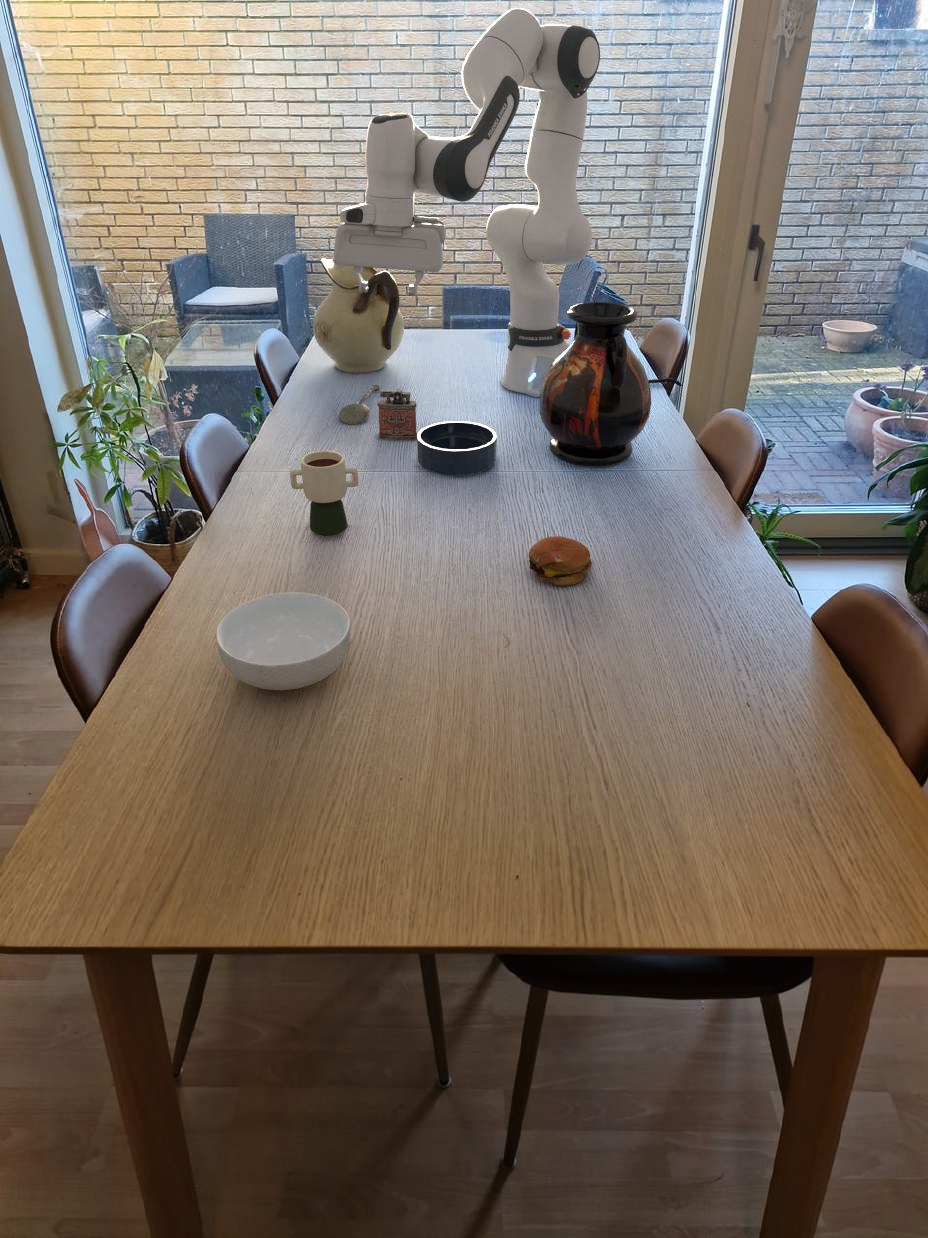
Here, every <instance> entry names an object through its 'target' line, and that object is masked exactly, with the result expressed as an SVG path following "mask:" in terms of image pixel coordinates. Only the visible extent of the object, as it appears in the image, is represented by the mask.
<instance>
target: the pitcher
mask: <svg viewBox="0 0 928 1238" xmlns="http://www.w3.org/2000/svg"><path fill="white" fill-rule="evenodd" d="M320 263H321V265H322V268H323V270H324V271H325V273H326V275H327V276H328V277H329V279H330V281H331V282H332V288H331V290H330V292H329V294H327V296H326V297H325V299H323V301H322V302H321V303H320V305H319V306H318V307H317V310H316V312H315V314H314V317H313V321H312V331H313V336H314V338H315V341H316V343H317V344H318V346H319V348H320V349H321V351H323V352H324V353H325V354H326V355H327V356H328V357H329V358H330V359H331V360H332V361H333V362H334V364H335V367H336V368H337V369H338V370H339V371H342V372H346V373H358V374H359V373H371V372H376V371H379V370H381V369H383V368H385V366H386V363H387V360H389V359H390V358H391V357H392V356H393V355H394V354H395V352H396V351H397V350H398V349H399V347H400V345H401V343H402V341H403V337H404V333H405V322H404V317H403V315H402V311H400V309H399V308H400V291H399V288H398V285H397V282H396V280H395V279H394V277H393V276H392V274H391V273H390V272H389V271H388V270H383V271H380V272H378V271H377V270H376V268H372V267H362V271H361V272H360V274H361V276H362V278H363V280H364V281H366V282H368V286H367V287H368V292H359V282H358V281H357V279H356V277H355V275H354V273H353V266H345V265H338V264H337V263H336V261H335V260H334V258H331V259H327V258H321V261H320Z"/></svg>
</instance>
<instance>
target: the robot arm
mask: <svg viewBox="0 0 928 1238" xmlns="http://www.w3.org/2000/svg"><path fill="white" fill-rule="evenodd" d="M600 47H601V46H600V44H599V41H598V38H597V36H596V34H595V32H594V31H593V29H591V28H588V27H586V26H582V25H579V24H573V25H566V24H557V23H555V24H554V23H551V24H550V23H547V24H544V25H541V23H540V21H539V19H538V18H537V17H536V16H535V15H534V14H533V13H532V12H530V11H529V10H528V9H525V8H522V7H521V8H520V7H515V8H511V9H509V10H507V11H505V13H503V14H502V15H501V16H500V17H499V18H498V19H496V20H494V22H493V23H492V24H491V25H490V26H489V27H488V28H487V29H486V30H485V31H484V33H483V34H482V35H481V36H480V38H479V39H478V40H477V41H476V43H475V44H474V45H473V47H472V48H471V49H470V51H469V52H468V54H467V56H466V57H465V60H464V62H463V64H462V68H461V81H462V86H463V89H464V92H465V94H466V96H467V97H468V99H469V101H470V102H471V104H473V106H474V107H475V108H476V109H478V111H479V112H478V115H477V116H476V117H475V119H474V122H473V124H472V126H471V127H470V129H469V131H468V132H466V133H465V134H463V135H460V136H456V137H444V136H443V137H441V136H433V135H429V134H428V133H427V132H425V131H423V130H422V129H421V128H420V127H419V126H418V125H417V124H416V123H415V121H414V118H413V115H412V114H410V113H409V112H404V111H393V112H392V111H391V112H389V111H388V112H383V113H378V114H376V115H374V116H373V117H372V118H371V119H370V121H369V124H368V128H367V133H366V142H365V172H366V175H367V185H366V188H365V198H364V199H365V201H364V203H361V202H360V203H357V204H354V205H353V206H349V207H346V208H344V209H342V210H341V211H340V213H339V219H340V222H341V224H340V225H339V226H338V227H337V229H336V231H335V237H334V243H333V244H334V248H333V259H334V260H335V261H336V263H337V264H338V265H345V266H353V273H354V275H355V277H356V279H357V281H358V282H359V292H368V287H367V286H368V282H366V281H364V280H363V278H362V276H361V274H360V272H361V271H362V267H372V268H374V269H388V270H401V271H412V272H413V271H414V276H415V278H417V279H416V281H415V282H414V284H409V285H408V296H409V297H417V296H418V286H419V284H420V283H421V282H422V279H423V278H424V273H426V272H427V273H438V272H439V271H441V269H443V265H444V253H443V244H444V243H445V241H446V232H447V229H446V225H445V223H444V222H443V221H442V220H440V219H439V218H438V217H435V216H434V217H433V216H432V217H428V216H423V215H422V216H419V215H415V194H423V195H427V196H433V197H441V198H445V199H448V200H453V201H457V202H461V203H465V202H468V201H470V200H472V199H474V197H476V195H477V194H479V192H481V190H482V187H483V186H484V183H485V181H486V179H487V175H488V172H489V169H490V165H491V163H492V161H493V159H494V157H495V155H496V153H497V151H498V150H499V147H500V146H501V144H502V141H503V140H504V138H505V136H506V135H507V132H508V130H509V128H510V127H511V125H512V123H513V120H514V118H515V116H516V114H517V111H518V108H519V106H520V101H521V92H520V89H521V90H522V89H529V90H534V91H538V94H539V101H538V103H537V104H538V105H537V108H536V111H535V115H534V119H533V123H532V128H531V133H530V139H529V144H528V149H527V155H526V160H525V164H524V170H525V174H526V176H527V179H528V180H529V182H530V183H531V184H533V186H535V187H536V190H537V195H538V204H537V206H535V205H528V204H519V203H515V204H514V203H513V204H506V205H500V206H497V207H496V208H495V209H494V210H493V211H492V212H491V214H490V216H489V217H488V220H487V223H486V227H485V228H486V229H485V233H486V239H487V243H488V245H489V247H490V248H491V249H492V250H493V252H494V253H495V254H496V255H497V257H498V259H499V260H500V262H501V264H502V266H503V269H504V271H505V274H506V276H507V281H508V286H509V296H510V297H509V301H510V303H509V304H510V307H509V309H510V310H509V312H510V316H509V318H510V319H509V323H508V325H507V334H506V337H507V338H506V341H507V342H506V345H507V358H506V363H505V369H504V373H503V377H502V379H501V386H502V387H503V388H505V389H507V390H510V391H511V392H516V393H520V394H521V393H522V394H526V395H529V396H531V397H533V398H540V392H541V388H542V383H543V381H544V378H545V376H546V373H547V372H548V370H549V368H550V366H551V365H552V363H553V362H554V361H555V359H556V358H557V357H558V356H559V355H560V354H561V353H562V352H563V351H564V350H565V349H566V348H567V347H568V346H569V345H570V344H571V343H569V342H568V341H567V340H570V338H571V337H572V332H571V331H570V330H569V329H568V328H566V326H564V325H562V323H559V313H560V312H559V311H560V290H559V287H558V285H557V284H556V282H555V281H554V280H552V279H551V277H550V276H549V275H548V273H547V271H546V269H545V266H544V264H549V265H554V266H564V265H565V266H566V265H576V264H578V263H581V262H582V261H583V260H584V259H585V258H586V256H587V255H588V253H589V251H590V250H591V246H592V242H593V231H592V227H591V224H590V222H589V220H588V219H587V217H586V216H585V214H584V213H583V211H582V209H581V206H580V204H579V199H578V194H577V175H578V169H579V163H580V158H581V152H582V146H583V142H584V136H585V130H586V124H587V115H588V90H589V87H590V86H591V84H592V82H593V81H594V78H595V77H596V75H597V73H598V70H599V66H600V61H601V48H600ZM648 381H649V384H659V383H660V384H661V383H674V384H675V385H676V386H678V387H682V386H683V384H682V383H681V382H680V381H679V380H678V379H675V378H672V377H665V378H657V379H654V378H653V379H648Z"/></svg>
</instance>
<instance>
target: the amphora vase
mask: <svg viewBox="0 0 928 1238" xmlns="http://www.w3.org/2000/svg"><path fill="white" fill-rule="evenodd" d="M566 313H567V314H566V315H567V317H568V318H569V319H570V320H571V321H572V322H575V327H574V334H573V340H572V341H571V343H569V344H570V345H569V346H568V347H567V348H566V349H565V350H564V351H563V352H562V353H561V354H560V355H559V356H558V357H557V358H556V359H555V361H554V362H553V363H552V365H551V366H550V368H549V370H548V372H547V373H546V376H545V378H544V381H543V383H542V388H541V392H540V397H539V416H540V420H541V422H542V425H543V426H544V427H545V429H546V431H547V432H548V434H549V435H550V436H551V437H552V438H551V440H550V441H549V451H550V452H551V453H552V455H553V456H554V457H556V458H557V459H558V460H560V461H563V462H565V463H567V464H569V465H574V466H578V467H586V468H602V467H603V468H607V467H610V466H616V465H618V464H620V463H624V462H625V461H626V460H628V459H629V458H630V457H631V455H632V453H633V450H634V448H633V444H632V441H634V440H635V439H636V438H637V437H638V436H639V435H640V434H641V433H642V431H643V430H644V428H645V426H646V424H647V423H648V420H649V418H650V415H651V408H652V391H651V387H650V383H649V381H648V380H649V377H648V375H647V372H646V369H645V367H644V365H643V363H642V361H640V359H639V358H638V357H637V355H636V353H634V351H633V350H632V349H631V347H630V346H629V344H628V342H627V339H626V337H625V332H626V327H627V326H628V325H629V324H632V323H634V322H636V320H637V319H638V317H639V314H638V311H637V310H636V309H635V308H633V307H632V306H629V305H626V304H622V303H617V302H608V301H589V302H581V303H576V304H574V305H572V306H570V308H568V309H567V312H566Z"/></svg>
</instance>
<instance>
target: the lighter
mask: <svg viewBox="0 0 928 1238" xmlns="http://www.w3.org/2000/svg"><path fill="white" fill-rule="evenodd" d="M379 397H380V398H385V399H380V400H378V401H377V402H376V405H377V408H378V409H377V410H378V412H377V413H378V427H379V428H378V429H379V431H378V438H379V439H380V440H387V441H403V442H404V441H417V434H418V433H417V409H416V408H417V401H415V400H411V391H403V390H402V389H400V388H397V389H395V390H392V389H381V390H379Z"/></svg>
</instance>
